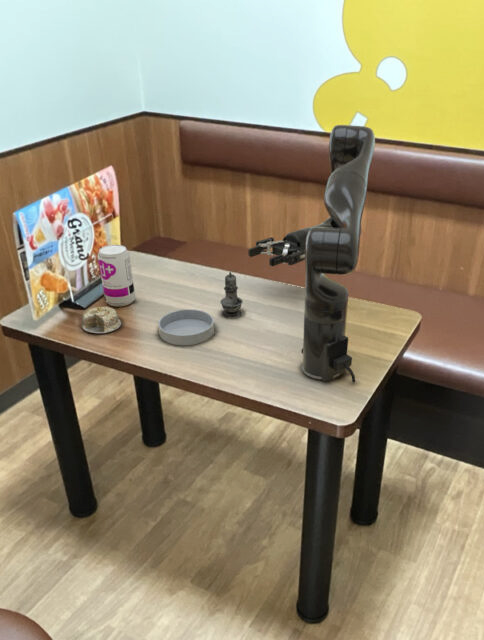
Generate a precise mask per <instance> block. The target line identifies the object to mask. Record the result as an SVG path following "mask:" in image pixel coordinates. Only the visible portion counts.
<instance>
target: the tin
mask: <svg viewBox="0 0 484 640" xmlns="http://www.w3.org/2000/svg"><path fill="white" fill-rule="evenodd" d="M157 324H158V325H157V327H158V334H159V337H160V339H161V340H163V341H164V342H165V343H168V344H171V345H173V346H193V345H197V344H201V343H203V342H206V341H208V340H210V339H211V338H212V337H213V335H214V334H215V320H214V317H213V316H212V315H211V314H210V313H208V312H206V311H203V310H200V309H195V308H194V309H192V308H188V309H187V308H185V309H178V310H173V311H170V312H168V313H166V314H164V315H163V316H162V317H161V318H160V319H159V320H158V323H157Z"/></svg>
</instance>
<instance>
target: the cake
mask: <svg viewBox="0 0 484 640" xmlns="http://www.w3.org/2000/svg"><path fill="white" fill-rule="evenodd" d="M121 326H122V322H121V319H120V318H119V314H118V312H117V311H116V309H114V308H113V307H109V306H98V307H97V306H95V307H92V308H88V309H86V310H85V311H84V312H83V314H82V317H81V328H82V329H83V330H84V331H86V332H88V333H92V334H106V333H111V332H113V331H116V330H118V329H119V328H120V327H121Z"/></svg>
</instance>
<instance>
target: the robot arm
mask: <svg viewBox="0 0 484 640" xmlns="http://www.w3.org/2000/svg"><path fill="white" fill-rule="evenodd" d="M375 146H376V136H375V131H374V130H373V129H372V128H371V127H368V126H364V125H353V124H352V125H350V124H337V125H334V126H333V128H332V129H331V132H330V135H329V142H328V161H329V162H328V163H329V170H330V171H329V172H330V176H329V177H328V179H327V182H326V186H325V190H324V194H323V195H324V196H323V205H324V208H325V210H326V212H327V214H328V216H329V217H328V218H327V219H325V220H324V221H323V222H321V223H320V224H319V223H318V224H316V225H313V226H309V227H304V228H301V229H297V230H294V231H291V232H288V233H286V234H285V235H284V237H283V238H282V239H281V240H277V241H275V238H274V237H273V236H272V237H268V238H264V239H261V240H257V241H255V246H253V247H250V248H248V250H247V252H248V257H250V258H253V257H256V256H259V255H264V254H266V255H267V256H271V257H270V258H269V260H268V261H269V264H268V265H269V266H271V267H276V266H278V265H281V264H282V265H288V266H293V265H296V264H298V263H301V262H304V269H305V270H304V273H305V274H304V275H305V276H304V277H305V279H304V280H305V281H304V282H305V283H304V286H305V288H304V309H303V311H304V312H303V313H304V315H303V339H302V340H303V341H302V342H303V343H302V349H301V354H302V364H301V371H302V372H303V374H304V375H306V376H307V377H309V378H311V379H313V380H320V381H323V382H325V383H327V382H329V381H332V380H334V379H337V378H338V377H341V376H343V375H346V372H347V371H348V373H349V374H350V376H351V377H350V378H351V383H356V375H355V372H354V371H353V370H352V368H351V367H352V362H353V357H352V356H351V355H349V354H348V348H349V337H348V336H347V335H346V331H347V318H348V307H349V290H348V288H347V287H346V286H345V285H343V284H342V283H341V282H338V281H336V280H333V279H332V278H330V277H328V276H327V275H339V276H346V275H350V274H352V273H353V272H354V271H355V270H356V268H357V265H358V262H359V257H360V248H361V236H362V219H363V215H364V210H365V209H364V208H365V206H366V205H365V204H366V198H367V193H368V182H369V173H370V168H371V164H372V161H373V157H374V153H375ZM271 249H272V251H271ZM326 274H327V275H326Z"/></svg>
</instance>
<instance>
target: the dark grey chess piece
mask: <svg viewBox="0 0 484 640" xmlns="http://www.w3.org/2000/svg"><path fill="white" fill-rule="evenodd" d="M238 289H239V287H238V286H237V276H236V275H234V274H232V272H231V271H229V272H228V274H226V275H225V277H224V287H223V290H224V291H225V292H224V294H225V295H224V297H223V298H222V299H221V300H220V301H219V302H220V304H221V307H222V309H223V311H222V312H221V315H222V316H223V317H224V318H227V319H236V318H239V317H241V316H242V314H243V311H242V310H240V309H241V307H242V304H243V302H244V301H243V299H242V298H241V297H239V296H238Z"/></svg>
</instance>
